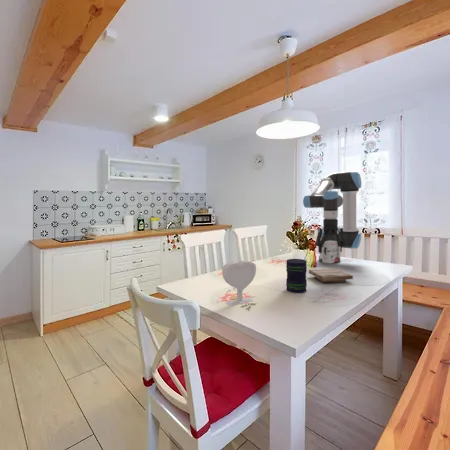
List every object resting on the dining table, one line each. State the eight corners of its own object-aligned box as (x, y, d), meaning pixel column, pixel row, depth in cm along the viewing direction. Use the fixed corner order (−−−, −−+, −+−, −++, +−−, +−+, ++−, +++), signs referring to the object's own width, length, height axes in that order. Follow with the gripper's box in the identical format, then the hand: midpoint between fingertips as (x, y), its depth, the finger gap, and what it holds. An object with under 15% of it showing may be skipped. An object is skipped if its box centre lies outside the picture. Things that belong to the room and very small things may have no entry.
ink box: (329, 260, 157) (330, 240, 156) (338, 261, 153) (338, 240, 152) (321, 262, 151) (322, 241, 150) (330, 263, 147) (330, 242, 147)
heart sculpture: (227, 306, 115) (226, 265, 114) (221, 302, 120) (221, 262, 118) (257, 300, 122) (257, 260, 121) (251, 296, 127) (250, 259, 125)
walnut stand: (308, 276, 160) (308, 269, 160) (335, 274, 163) (335, 268, 162) (323, 284, 143) (323, 277, 143) (352, 282, 146) (352, 275, 146)
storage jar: (301, 286, 141) (301, 258, 140) (310, 292, 131) (310, 262, 130) (283, 287, 139) (283, 259, 138) (290, 293, 130) (290, 263, 129)
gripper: (315, 219, 145) (314, 260, 147) (352, 218, 148) (352, 258, 150) (308, 218, 152) (308, 257, 154) (344, 217, 156) (344, 256, 157)
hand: (330, 258), depth 152 cm, fingers closed on ink box, 9 cm apart
